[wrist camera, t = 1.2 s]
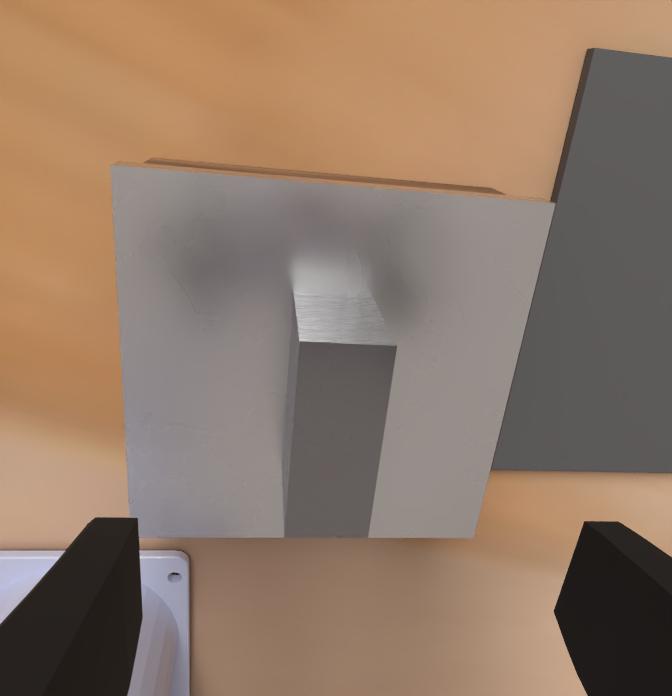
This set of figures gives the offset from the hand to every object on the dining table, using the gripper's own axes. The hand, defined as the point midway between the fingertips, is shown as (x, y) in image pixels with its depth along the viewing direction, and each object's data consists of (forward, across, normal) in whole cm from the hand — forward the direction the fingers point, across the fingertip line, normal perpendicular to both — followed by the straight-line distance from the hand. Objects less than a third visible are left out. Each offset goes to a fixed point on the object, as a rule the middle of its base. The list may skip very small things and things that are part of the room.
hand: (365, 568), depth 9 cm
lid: (+8, 0, 0) cm, 8 cm away
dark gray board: (+10, -14, -2) cm, 17 cm away
